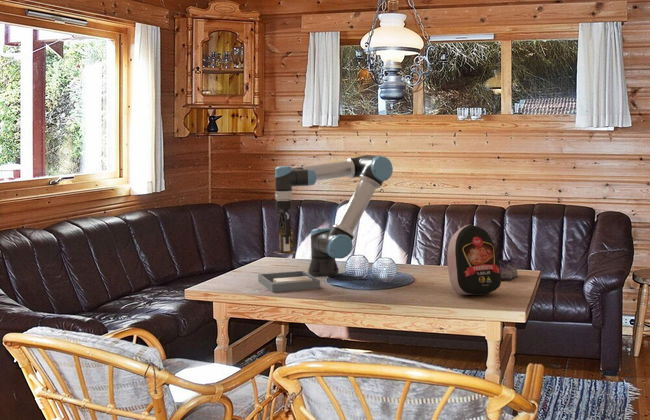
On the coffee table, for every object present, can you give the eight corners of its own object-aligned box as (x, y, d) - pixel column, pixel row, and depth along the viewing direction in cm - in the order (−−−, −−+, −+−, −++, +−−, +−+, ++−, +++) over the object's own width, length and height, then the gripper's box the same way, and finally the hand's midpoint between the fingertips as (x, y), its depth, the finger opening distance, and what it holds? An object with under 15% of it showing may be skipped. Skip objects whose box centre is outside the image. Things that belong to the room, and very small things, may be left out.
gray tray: (303, 280, 418) (303, 270, 417) (320, 290, 393) (319, 280, 393) (258, 283, 411) (258, 274, 411) (272, 294, 387) (272, 284, 386)
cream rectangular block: (307, 284, 402) (306, 276, 401) (312, 287, 394) (312, 279, 394) (273, 287, 397) (273, 278, 396) (277, 290, 389) (277, 281, 389)
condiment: (296, 252, 405) (296, 227, 403) (281, 254, 400) (280, 228, 399) (288, 250, 411) (288, 225, 409) (273, 252, 406) (272, 227, 405)
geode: (498, 273, 429) (501, 253, 427) (521, 278, 423) (524, 258, 422) (485, 279, 411) (488, 258, 409) (509, 284, 405) (512, 263, 404)
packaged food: (463, 301, 367) (464, 230, 364) (439, 292, 385) (439, 224, 382) (507, 296, 376) (508, 226, 372) (481, 288, 394) (482, 221, 390)
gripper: (270, 198, 410) (271, 247, 413) (281, 202, 392) (282, 253, 395) (286, 197, 413) (287, 246, 415) (297, 201, 395) (298, 252, 397)
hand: (284, 249), depth 405 cm, fingers closed on condiment, 6 cm apart
